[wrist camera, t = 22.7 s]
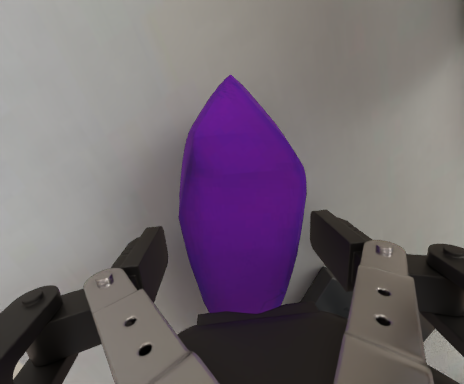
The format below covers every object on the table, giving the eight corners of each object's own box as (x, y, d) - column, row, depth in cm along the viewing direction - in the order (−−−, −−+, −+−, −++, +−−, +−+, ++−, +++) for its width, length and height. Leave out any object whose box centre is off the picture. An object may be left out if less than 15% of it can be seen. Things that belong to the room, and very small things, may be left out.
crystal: (205, 318, 16) (176, 84, 11) (273, 310, 16) (277, 79, 11) (203, 400, 11) (150, 66, 6) (297, 387, 12) (322, 58, 6)
